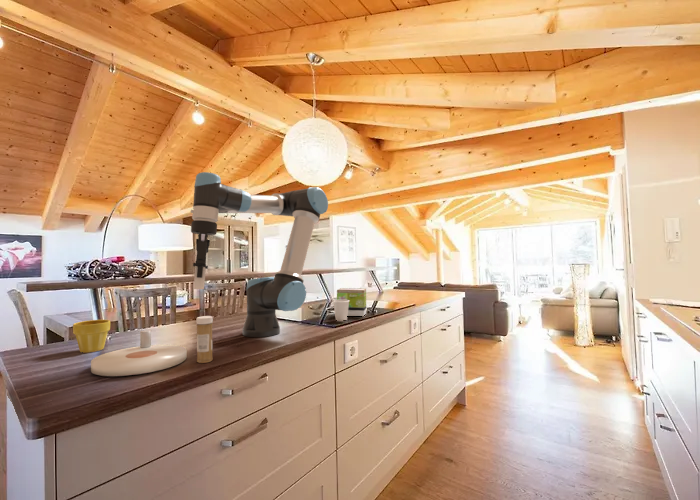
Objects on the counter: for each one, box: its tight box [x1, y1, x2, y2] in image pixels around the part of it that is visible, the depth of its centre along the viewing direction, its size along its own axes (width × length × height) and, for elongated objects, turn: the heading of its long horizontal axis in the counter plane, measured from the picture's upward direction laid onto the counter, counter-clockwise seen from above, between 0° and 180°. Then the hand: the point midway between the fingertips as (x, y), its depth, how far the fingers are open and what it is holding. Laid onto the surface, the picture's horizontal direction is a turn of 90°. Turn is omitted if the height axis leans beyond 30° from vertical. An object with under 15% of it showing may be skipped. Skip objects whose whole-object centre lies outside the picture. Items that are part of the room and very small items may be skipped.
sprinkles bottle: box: [195, 315, 214, 364], centre depth 105 cm, size 5×5×13 cm
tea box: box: [336, 287, 367, 317], centre depth 188 cm, size 15×10×15 cm, turn 80°
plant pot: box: [72, 319, 111, 354], centre depth 120 cm, size 10×10×10 cm
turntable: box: [90, 329, 188, 377], centre depth 102 cm, size 24×24×7 cm
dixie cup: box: [332, 299, 349, 322], centre depth 173 cm, size 8×8×10 cm
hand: (199, 288), depth 107 cm, fingers open, 13 cm apart
